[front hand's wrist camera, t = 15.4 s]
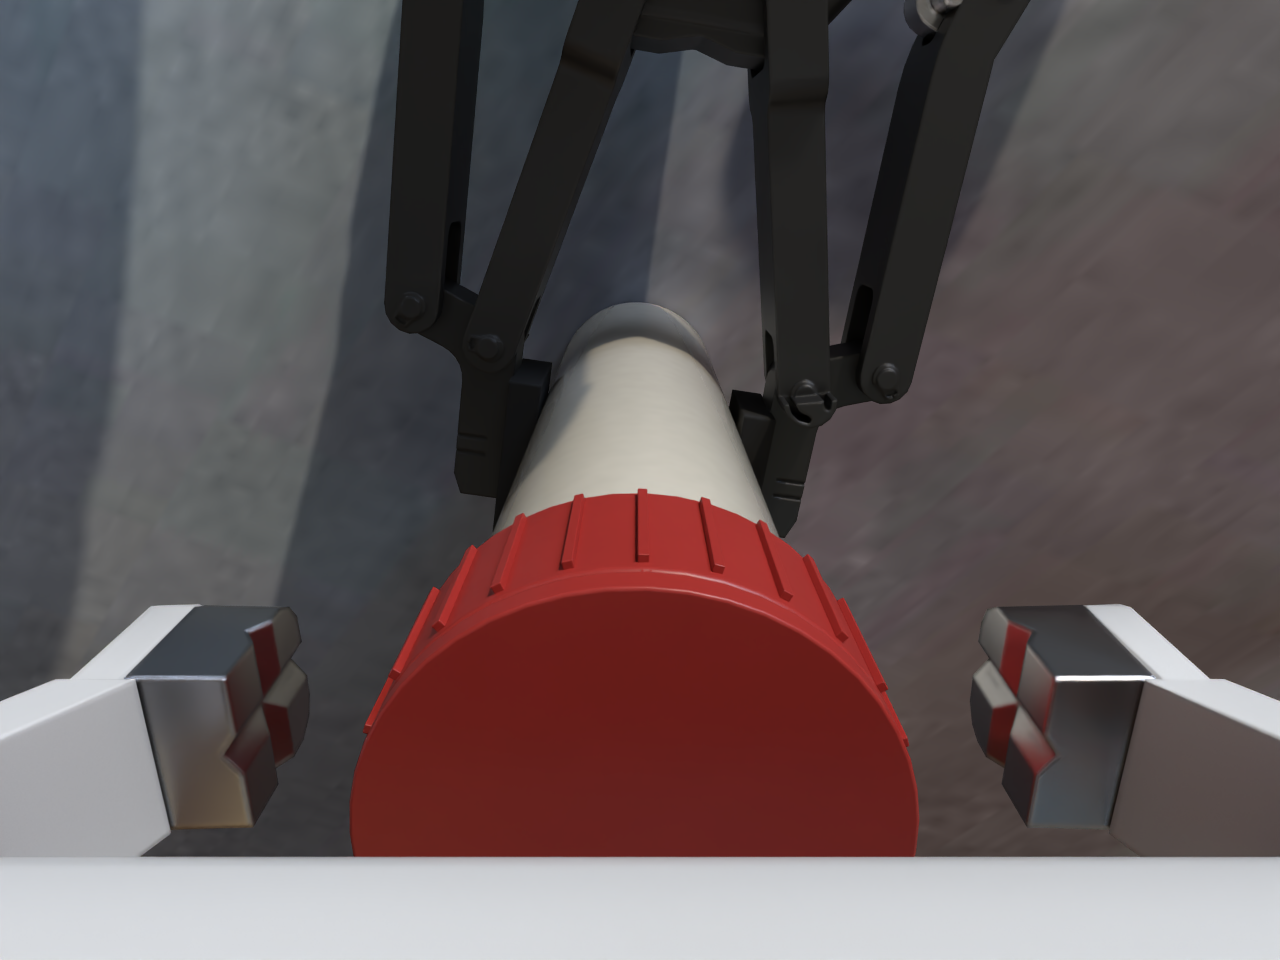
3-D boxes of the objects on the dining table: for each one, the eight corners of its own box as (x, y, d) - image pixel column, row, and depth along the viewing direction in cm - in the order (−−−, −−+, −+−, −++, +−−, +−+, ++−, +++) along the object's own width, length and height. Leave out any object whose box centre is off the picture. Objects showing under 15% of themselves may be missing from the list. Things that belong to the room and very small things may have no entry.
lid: (339, 539, 10) (250, 649, 8) (828, 436, 10) (889, 518, 7) (477, 912, 12) (438, 1092, 10) (892, 839, 11) (957, 1006, 9)
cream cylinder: (656, 271, 27) (701, 503, 8) (738, 396, 28) (946, 847, 9) (531, 358, 28) (307, 751, 9) (617, 475, 29) (582, 1034, 10)
